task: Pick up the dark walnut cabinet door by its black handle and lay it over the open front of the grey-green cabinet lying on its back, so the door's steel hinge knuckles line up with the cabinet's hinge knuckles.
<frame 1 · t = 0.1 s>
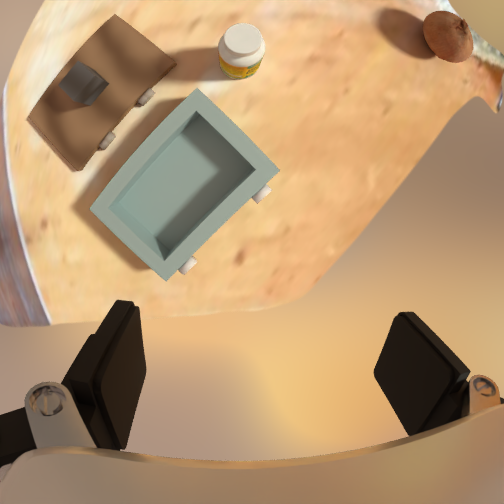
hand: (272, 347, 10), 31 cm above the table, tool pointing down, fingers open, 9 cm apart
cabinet: (183, 183, 38), on the table
supplement bottle: (239, 63, 33), on the table
door: (96, 88, 32), on the table
onion: (431, 43, 32), on the table
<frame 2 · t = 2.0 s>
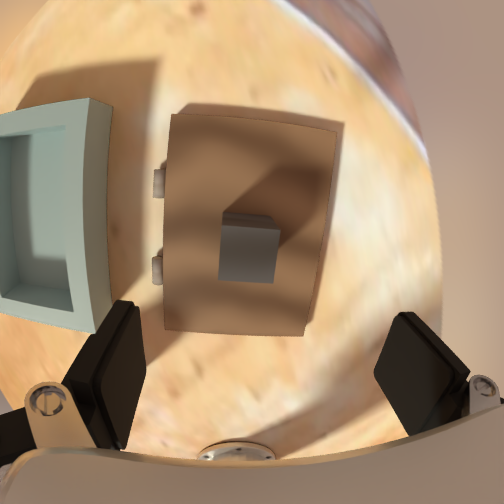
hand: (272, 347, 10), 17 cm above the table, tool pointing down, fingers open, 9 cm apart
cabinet: (49, 211, 24), on the table
door: (243, 232, 26), on the table
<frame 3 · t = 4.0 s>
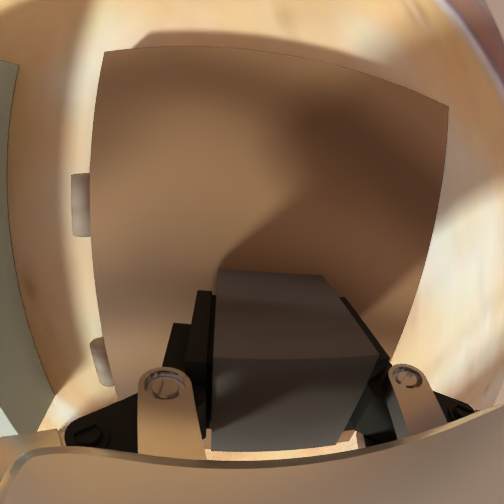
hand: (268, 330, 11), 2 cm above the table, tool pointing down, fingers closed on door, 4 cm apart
door: (261, 300, 13), on the table, touching gripper
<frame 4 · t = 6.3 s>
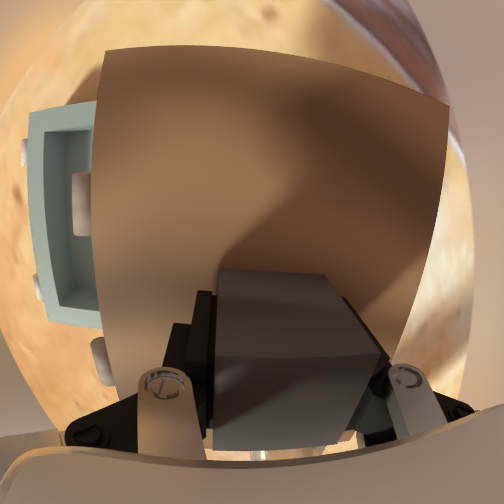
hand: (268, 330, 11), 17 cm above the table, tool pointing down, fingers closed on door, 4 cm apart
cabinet: (113, 212, 25), on the table
door: (262, 299, 13), point 15 cm above the table, touching gripper
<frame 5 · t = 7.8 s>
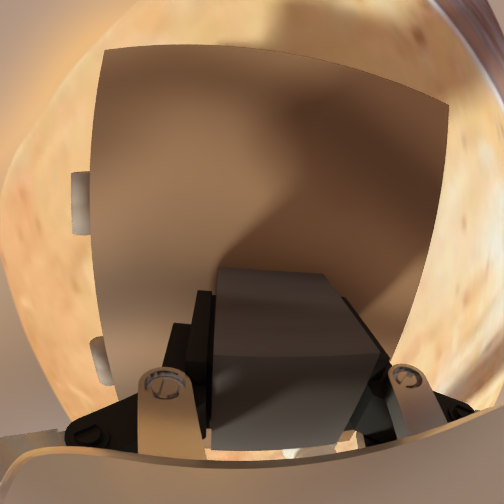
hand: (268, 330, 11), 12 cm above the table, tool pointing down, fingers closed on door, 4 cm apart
supplement bottle: (296, 394, 28), on the table
door: (261, 299, 13), point 10 cm above the table, touching gripper
when the fingers open (9 cm above the table, at t = 8.8 s): door drops 1 cm, resting on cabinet.
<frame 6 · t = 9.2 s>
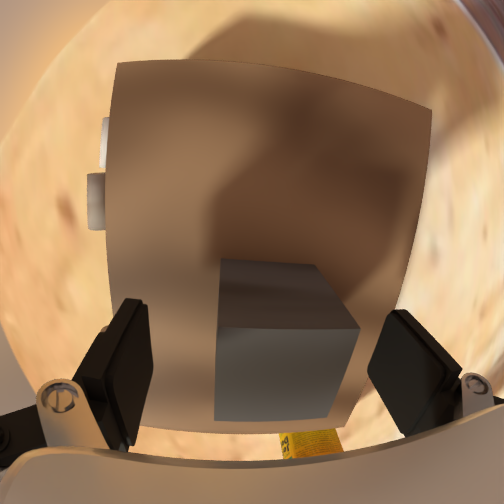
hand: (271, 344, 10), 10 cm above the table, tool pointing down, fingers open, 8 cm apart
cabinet: (250, 252, 19), on the table
supplement bottle: (302, 417, 25), on the table
door: (259, 288, 14), point 5 cm above the table, touching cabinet
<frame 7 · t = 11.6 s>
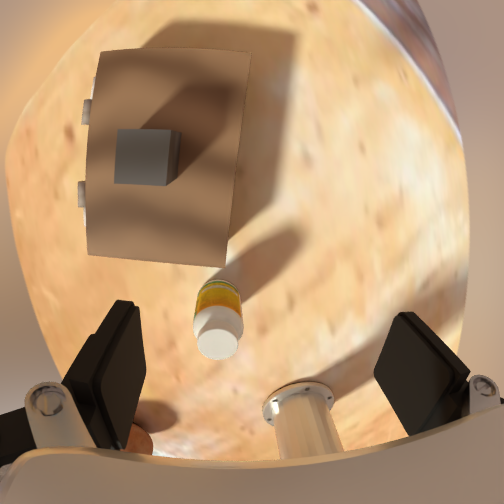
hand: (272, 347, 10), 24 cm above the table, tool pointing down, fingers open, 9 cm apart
supplement bottle: (218, 296, 36), on the table
door: (160, 153, 24), point 5 cm above the table, touching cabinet
onion: (132, 424, 45), on the table
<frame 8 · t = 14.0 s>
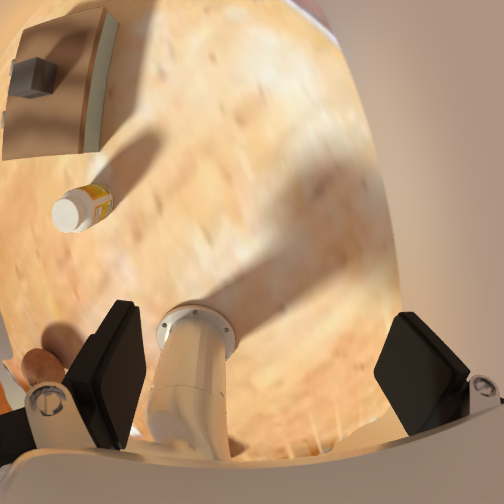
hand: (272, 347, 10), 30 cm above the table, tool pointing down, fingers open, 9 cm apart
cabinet: (66, 88, 30), on the table
supplement bottle: (98, 201, 36), on the table
door: (49, 83, 25), point 5 cm above the table, touching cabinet
onion: (53, 356, 45), on the table
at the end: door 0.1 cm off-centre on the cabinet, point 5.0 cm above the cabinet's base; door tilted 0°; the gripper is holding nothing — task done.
